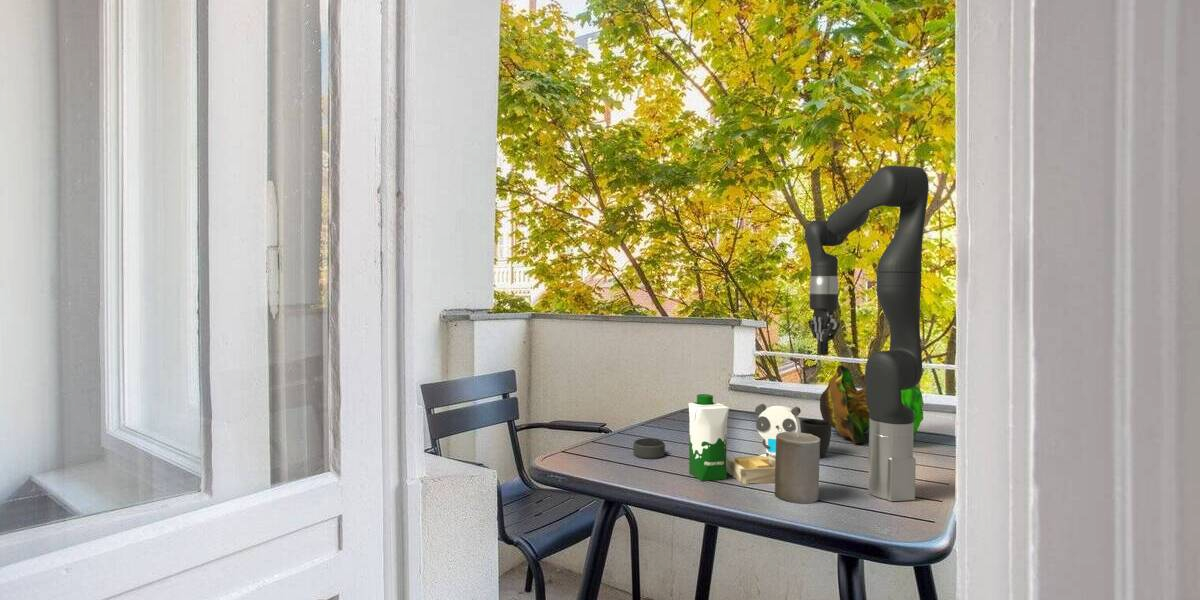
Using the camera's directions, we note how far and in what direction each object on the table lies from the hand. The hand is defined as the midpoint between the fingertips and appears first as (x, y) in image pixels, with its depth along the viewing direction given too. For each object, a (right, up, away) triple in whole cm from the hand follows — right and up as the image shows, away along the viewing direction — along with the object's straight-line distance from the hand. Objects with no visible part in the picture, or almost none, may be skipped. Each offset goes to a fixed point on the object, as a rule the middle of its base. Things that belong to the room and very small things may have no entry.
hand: (822, 354), depth 169 cm
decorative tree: (+23, -29, +22) cm, 43 cm away
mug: (-1, -29, +6) cm, 30 cm away
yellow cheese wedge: (-23, -29, -16) cm, 41 cm away
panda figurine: (-13, -29, -2) cm, 32 cm away
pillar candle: (-17, -30, -31) cm, 46 cm away
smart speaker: (-48, -29, +3) cm, 56 cm away
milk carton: (-35, -29, -16) cm, 48 cm away
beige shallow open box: (-23, -29, -16) cm, 40 cm away
